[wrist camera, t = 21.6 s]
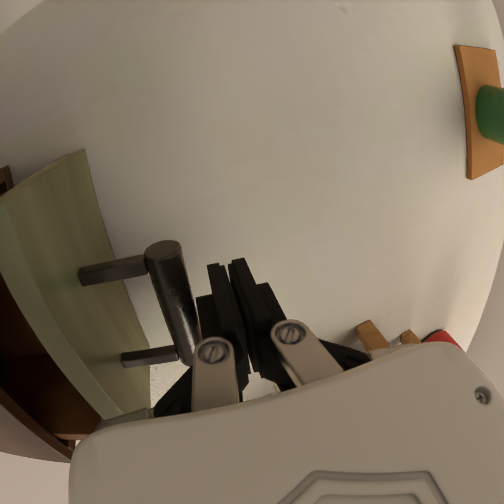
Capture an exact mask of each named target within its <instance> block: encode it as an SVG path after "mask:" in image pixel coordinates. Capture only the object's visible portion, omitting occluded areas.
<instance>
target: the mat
mask: <svg viewBox="0 0 504 504" xmlns="http://www.w3.org/2000/svg"><path fill="white" fill-rule="evenodd" d="M454 47H455V52H456V56H457V61H458V66H459V72H460V78H461V84H462V91H463V99H464V108H465V118H466V132H467V178H468V179H470V180H473V179H475V178H477V177H479V176H481V175H483V174H485V173H487V172H489V171H491V170H493V169H495V168H497V167H499V166H501V165H503V164H504V145H502V144H499V143H496V142H494V141H491V140H488V139H486V138H484V137H483V136H482V135H481V133H480V131H479V128H478V125H477V121H476V99H477V95H478V92H479V90H480V88H481V87H482V86H484V85H492V86H497V87H501V83H500V76H499V69H498V63H497V58H496V52H495V50H491V49H484V48H477V47H469V46H459V45H454Z"/></svg>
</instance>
